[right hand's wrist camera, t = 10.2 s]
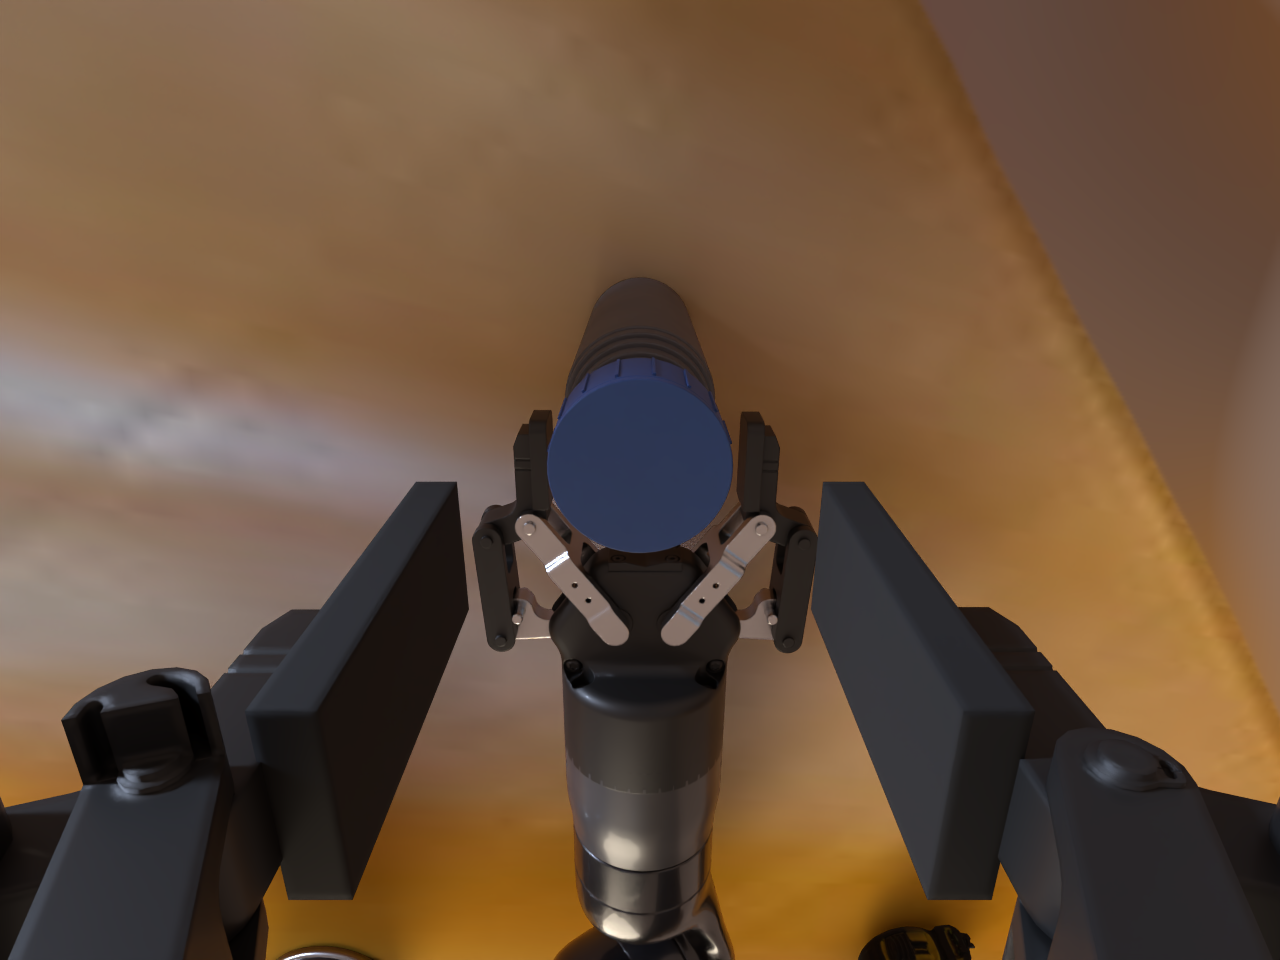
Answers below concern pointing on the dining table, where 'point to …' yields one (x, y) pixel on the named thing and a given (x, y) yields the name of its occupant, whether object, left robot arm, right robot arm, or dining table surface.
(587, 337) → the bottle
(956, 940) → the tape measure
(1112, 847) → the right robot arm
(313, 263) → the dining table surface
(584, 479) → the cap
